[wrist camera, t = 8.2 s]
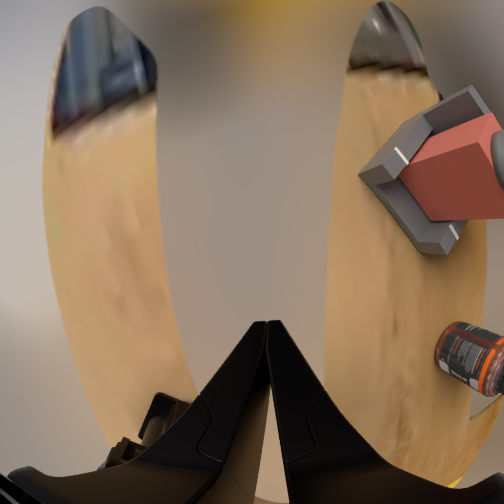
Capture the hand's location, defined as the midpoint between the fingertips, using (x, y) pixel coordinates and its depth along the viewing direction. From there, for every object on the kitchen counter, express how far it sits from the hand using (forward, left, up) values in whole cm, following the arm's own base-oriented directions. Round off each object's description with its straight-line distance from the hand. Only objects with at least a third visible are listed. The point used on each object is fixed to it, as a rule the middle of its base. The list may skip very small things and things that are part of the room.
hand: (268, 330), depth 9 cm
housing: (+14, -11, -13) cm, 22 cm away
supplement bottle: (+2, -25, -13) cm, 28 cm away
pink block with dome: (+14, -11, -12) cm, 22 cm away
